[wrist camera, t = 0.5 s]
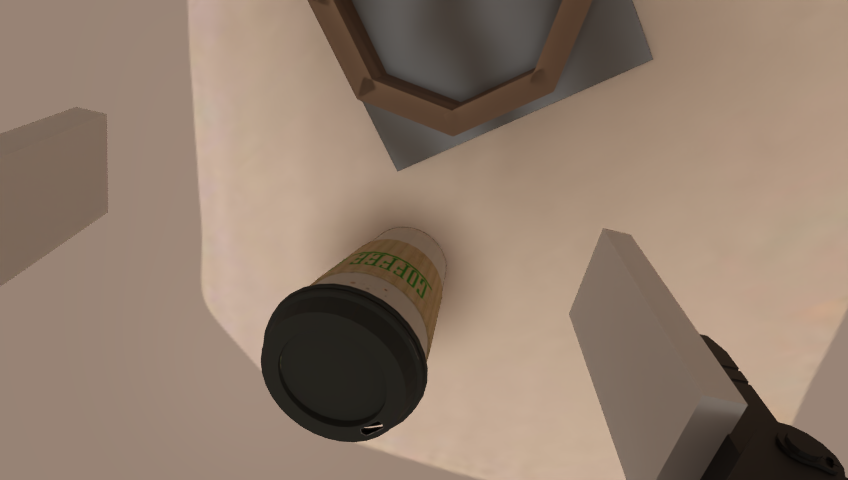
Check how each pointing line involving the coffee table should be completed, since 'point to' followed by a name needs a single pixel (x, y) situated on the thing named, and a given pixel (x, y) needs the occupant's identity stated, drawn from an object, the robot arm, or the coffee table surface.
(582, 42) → the cup collar
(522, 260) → the coffee table surface
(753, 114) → the coffee table surface
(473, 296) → the coffee table surface
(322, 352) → the coffee cup
